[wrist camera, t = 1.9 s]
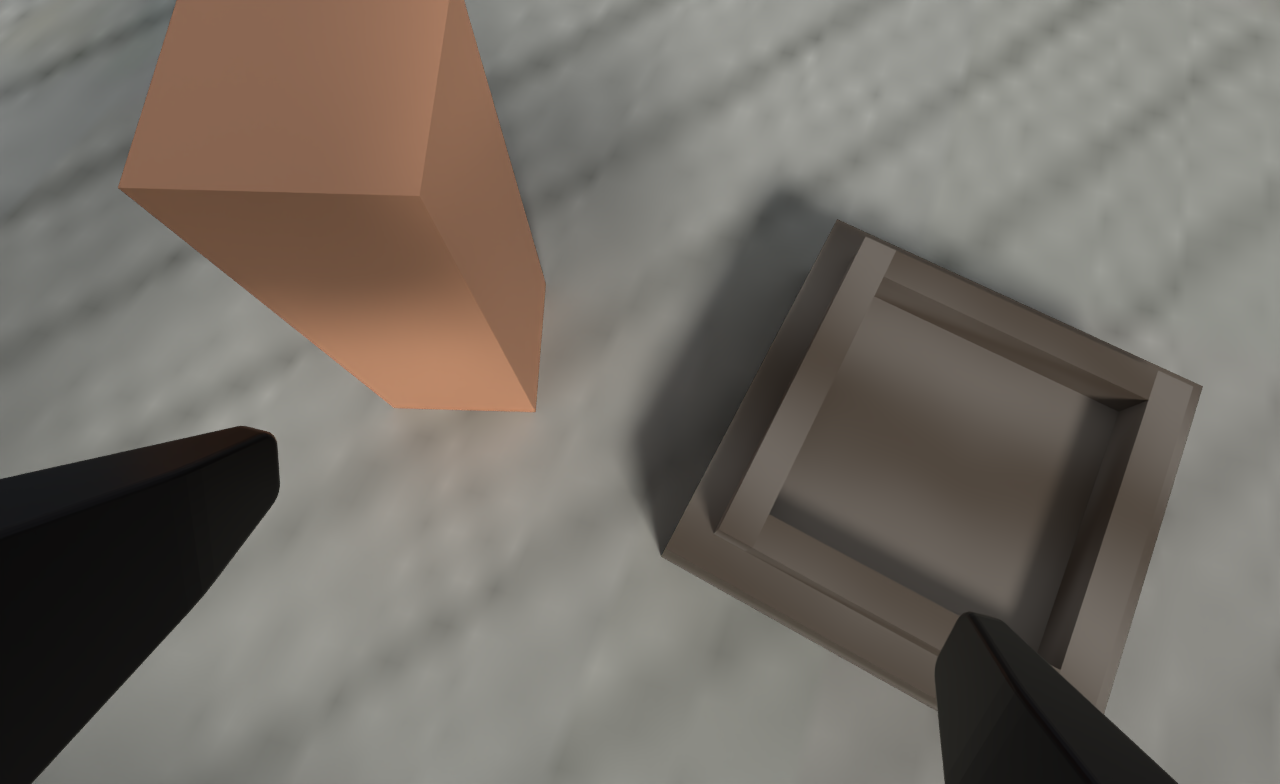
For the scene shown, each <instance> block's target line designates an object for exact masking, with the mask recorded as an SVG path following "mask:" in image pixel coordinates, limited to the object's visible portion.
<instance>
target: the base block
mask: <svg viewBox="0 0 1280 784" xmlns="http://www.w3.org/2000/svg"><path fill="white" fill-rule="evenodd" d="M1202 387H1203V386H1201V385H1198V384H1196V383H1194V382H1192V381H1190V380H1188V379H1185V378H1183V377H1181V376H1179V375H1177V374H1174V373H1172V372H1170V371H1168V370H1166V369H1163V368H1161V367H1159V366H1157V365H1155V364H1153V363H1150V362H1148V361H1146V360H1144V359H1142V358H1139V357H1137V356H1135V355H1133V354H1131V353H1129V352H1126V351H1124V350H1122V349H1120V348H1118V347H1115V346H1113V345H1111V344H1109V343H1107V342H1104V341H1102V340H1100V339H1098V338H1096V337H1094V336H1091V335H1089V334H1087V333H1085V332H1083V331H1080V330H1078V329H1076V328H1074V327H1072V326H1069V325H1067V324H1065V323H1063V322H1061V321H1059V320H1056V319H1054V318H1052V317H1050V316H1048V315H1045V314H1043V313H1041V312H1039V311H1037V310H1034V309H1032V308H1030V307H1028V306H1026V305H1024V304H1021V303H1019V302H1017V301H1015V300H1013V299H1010V298H1008V297H1006V296H1004V295H1002V294H1000V293H997V292H995V291H993V290H991V289H989V288H986V287H984V286H982V285H980V284H978V283H975V282H973V281H971V280H969V279H967V278H965V277H962V276H960V275H958V274H956V273H954V272H951V271H949V270H947V269H945V268H943V267H940V266H938V265H936V264H934V263H932V262H930V261H927V260H925V259H923V258H921V257H919V256H916V255H914V254H912V253H910V252H908V251H905V250H903V249H901V248H899V247H897V246H895V245H892V244H890V243H888V242H886V241H884V240H881V239H879V238H877V237H875V236H873V235H870V234H868V233H866V232H864V231H862V230H860V229H857V228H855V227H853V226H851V225H849V224H846V223H844V222H842V221H840V220H838V219H837V221H836V223H835V224H834V226H833V228H832V230H831V232H830V234H829V236H828V238H827V240H826V242H825V244H824V245H823V247H822V249H821V251H820V253H819V255H818V257H817V259H816V261H815V263H814V265H813V267H812V268H811V270H810V272H809V274H808V276H807V278H806V280H805V282H804V284H803V286H802V288H801V290H800V291H799V293H798V295H797V297H796V299H795V301H794V303H793V305H792V307H791V309H790V311H789V313H788V314H787V316H786V318H785V320H784V322H783V324H782V326H781V328H780V330H779V332H778V334H777V335H776V337H775V339H774V341H773V343H772V345H771V347H770V349H769V351H768V353H767V355H766V357H765V358H764V360H763V362H762V364H761V366H760V368H759V370H758V372H757V374H756V376H755V378H754V380H753V381H752V383H751V385H750V387H749V389H748V391H747V393H746V395H745V397H744V399H743V401H742V402H741V404H740V406H739V408H738V410H737V412H736V414H735V416H734V418H733V420H732V422H731V424H730V425H729V427H728V429H727V431H726V433H725V435H724V437H723V439H722V441H721V443H720V445H719V447H718V448H717V450H716V452H715V454H714V456H713V458H712V460H711V462H710V464H709V466H708V468H707V470H706V471H705V473H704V475H703V477H702V479H701V481H700V483H699V485H698V487H697V489H696V491H695V492H694V494H693V496H692V498H691V500H690V502H689V504H688V506H687V508H686V510H685V512H684V514H683V515H682V517H681V519H680V521H679V523H678V525H677V527H676V529H675V531H674V533H673V535H672V537H671V538H670V540H669V542H668V544H667V546H666V548H665V550H664V552H663V554H662V556H661V557H663V558H665V559H667V560H668V561H670V562H672V563H674V564H675V565H677V566H679V567H681V568H683V569H684V570H686V571H688V572H690V573H692V574H693V575H695V576H697V577H699V578H701V579H702V580H704V581H706V582H708V583H709V584H711V585H713V586H715V587H717V588H718V589H720V590H722V591H724V592H726V593H727V594H729V595H731V596H733V597H734V598H736V599H738V600H740V601H742V602H743V603H745V604H747V605H749V606H751V607H752V608H754V609H756V610H758V611H759V612H761V613H763V614H765V615H767V616H768V617H770V618H772V619H774V620H776V621H777V622H779V623H781V624H783V625H784V626H786V627H788V628H790V629H792V630H793V631H795V632H797V633H799V634H801V635H802V636H804V637H806V638H808V639H809V640H811V641H813V642H815V643H817V644H818V645H820V646H822V647H824V648H826V649H827V650H829V651H831V652H833V653H834V654H836V655H838V656H840V657H842V658H843V659H845V660H847V661H849V662H851V663H852V664H854V665H856V666H858V667H859V668H861V669H863V670H865V671H867V672H868V673H870V674H872V675H874V676H876V677H877V678H879V679H881V680H883V681H885V682H886V683H888V684H890V685H892V686H893V687H895V688H897V689H899V690H901V691H902V692H904V693H906V694H908V695H910V696H911V697H913V698H915V699H917V700H918V701H920V702H922V703H924V704H926V705H927V706H929V707H931V708H933V709H935V710H936V711H938V709H937V699H936V689H935V678H934V672H935V664H936V660H937V658H938V655H939V653H940V651H941V649H942V648H943V646H944V644H945V642H946V640H947V638H948V636H949V634H950V632H951V631H952V629H953V627H954V625H955V623H956V621H957V619H958V618H959V617H960V615H962V614H963V613H964V612H968V611H972V612H976V613H980V614H984V615H988V616H992V617H995V618H998V619H1000V620H1002V621H1003V622H1005V623H1006V624H1007V625H1008V626H1009V627H1010V628H1011V629H1012V630H1013V631H1014V632H1015V633H1017V634H1018V635H1019V636H1020V637H1021V638H1022V639H1023V640H1024V641H1025V642H1026V643H1027V644H1028V645H1029V646H1031V647H1032V648H1033V649H1034V650H1035V651H1036V652H1037V653H1038V654H1039V655H1040V656H1041V657H1042V658H1043V659H1045V660H1046V661H1047V662H1048V663H1049V664H1050V665H1051V666H1052V667H1053V668H1054V669H1055V670H1056V671H1057V672H1059V673H1060V674H1061V675H1062V676H1063V677H1064V678H1065V679H1066V680H1067V681H1068V682H1069V683H1070V684H1071V685H1073V686H1074V687H1075V688H1076V689H1077V690H1078V691H1079V692H1080V693H1081V694H1082V695H1083V696H1084V697H1086V698H1087V699H1088V700H1089V701H1090V702H1091V703H1092V704H1093V705H1094V706H1095V707H1096V708H1097V709H1098V710H1100V711H1101V712H1102V713H1103V714H1104V712H1105V709H1106V706H1107V702H1108V699H1109V696H1110V692H1111V689H1112V686H1113V682H1114V679H1115V676H1116V673H1117V669H1118V666H1119V663H1120V659H1121V656H1122V653H1123V649H1124V646H1125V643H1126V639H1127V636H1128V633H1129V629H1130V626H1131V623H1132V620H1133V616H1134V613H1135V610H1136V606H1137V603H1138V600H1139V596H1140V593H1141V590H1142V586H1143V583H1144V580H1145V576H1146V573H1147V570H1148V566H1149V563H1150V560H1151V557H1152V553H1153V550H1154V547H1155V543H1156V540H1157V537H1158V533H1159V530H1160V527H1161V523H1162V520H1163V517H1164V513H1165V510H1166V507H1167V503H1168V500H1169V497H1170V494H1171V490H1172V487H1173V484H1174V480H1175V477H1176V474H1177V470H1178V467H1179V464H1180V460H1181V457H1182V454H1183V450H1184V447H1185V444H1186V441H1187V437H1188V434H1189V431H1190V427H1191V424H1192V421H1193V417H1194V414H1195V411H1196V407H1197V404H1198V401H1199V397H1200V394H1201V391H1202Z"/></svg>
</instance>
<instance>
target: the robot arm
mask: <svg viewBox="0 0 1280 784" xmlns="http://www.w3.org/2000/svg"><path fill="white" fill-rule="evenodd" d="M279 488H280V477H279V462H278V447H277V441H276V439H275V437H274V435H272V434H271V433H270V432H267V431H263V430H259V429H255V428H251V427H247V426H237V427H233V428H228V429H224V430H219V431H215V432H210V433H206V434H201V435H197V436H192V437H188V438H183V439H179V440H174V441H170V442H165V443H161V444H156V445H152V446H147V447H143V448H138V449H133V450H129V451H124V452H120V453H115V454H111V455H106V456H102V457H97V458H93V459H88V460H84V461H79V462H75V463H70V464H66V465H61V466H57V467H52V468H48V469H43V470H39V471H34V472H30V473H25V474H21V475H16V476H12V477H7V478H3V479H0V784H32V783H33V781H34V780H35V779H36V778H37V777H38V776H39V775H40V774H41V773H42V772H43V771H44V769H45V768H46V767H47V766H48V765H49V764H50V763H51V762H52V761H53V760H54V759H55V757H56V756H57V755H58V754H59V753H60V752H61V751H62V750H63V749H64V748H65V747H66V746H67V744H68V743H69V742H70V741H71V740H72V739H73V738H74V737H75V736H76V735H77V734H78V732H79V731H80V730H81V729H82V728H83V727H84V726H85V725H86V724H87V723H88V722H89V720H90V719H91V718H92V717H93V716H94V715H95V714H96V713H97V712H98V711H99V710H100V709H101V707H102V706H103V705H104V704H105V703H106V702H107V701H108V700H109V699H110V698H111V697H112V695H113V694H114V693H115V692H116V691H117V690H118V689H119V688H120V687H121V686H122V685H123V683H124V682H125V681H126V680H127V679H128V678H129V677H130V676H131V675H132V674H133V673H134V672H135V670H136V669H137V668H138V667H139V666H140V665H141V664H142V663H143V662H144V661H145V660H146V658H147V657H148V656H149V655H150V654H151V653H152V652H153V651H154V650H155V649H156V648H157V646H158V645H159V644H160V643H161V642H162V641H163V640H164V639H165V638H166V637H167V636H168V635H169V633H170V632H171V631H172V630H173V629H174V628H175V627H176V626H177V625H178V624H179V623H180V621H181V620H182V619H183V618H184V617H185V616H186V615H187V614H188V613H189V612H190V610H191V609H192V608H193V607H194V606H195V605H196V604H197V603H198V601H199V600H200V599H201V598H202V597H203V596H204V594H205V593H206V592H207V591H208V589H209V588H210V587H211V586H212V584H213V583H214V582H215V581H216V579H217V578H218V577H219V575H220V574H221V573H222V571H223V570H224V569H225V567H226V566H227V565H228V563H229V562H230V561H231V559H232V558H233V557H234V555H235V554H236V553H237V551H238V550H239V549H240V547H241V546H242V545H243V543H244V542H245V541H246V540H247V538H248V537H249V536H250V534H251V533H252V532H253V530H254V529H255V528H256V526H257V525H258V524H259V522H260V521H261V520H262V518H263V517H264V516H265V514H266V513H267V512H268V510H269V509H270V508H271V506H272V505H273V503H274V502H275V500H276V498H277V496H278V493H279ZM934 678H935V689H936V699H937V709H938V719H939V730H940V740H941V750H942V760H943V770H944V780H945V784H1178V783H1177V782H1176V781H1175V780H1174V779H1173V778H1172V777H1171V776H1170V775H1168V774H1167V773H1166V772H1165V771H1164V770H1163V769H1162V768H1161V767H1160V766H1159V765H1158V764H1157V763H1156V762H1154V761H1153V760H1152V759H1151V758H1150V757H1149V756H1148V755H1147V754H1146V753H1145V752H1144V751H1143V750H1142V749H1140V748H1139V747H1138V746H1137V745H1136V744H1135V743H1134V742H1133V741H1132V740H1131V739H1130V738H1129V737H1128V736H1126V735H1125V734H1124V733H1123V732H1122V731H1121V730H1120V729H1119V728H1118V727H1117V726H1116V725H1115V724H1114V723H1112V722H1111V721H1110V720H1109V719H1108V718H1107V717H1106V716H1105V715H1104V714H1103V713H1102V712H1101V711H1100V710H1098V709H1097V708H1096V707H1095V706H1094V705H1093V704H1092V703H1091V702H1090V701H1089V700H1088V699H1087V698H1086V697H1084V696H1083V695H1082V694H1081V693H1080V692H1079V691H1078V690H1077V689H1076V688H1075V687H1074V686H1073V685H1071V684H1070V683H1069V682H1068V681H1067V680H1066V679H1065V678H1064V677H1063V676H1062V675H1061V674H1060V673H1059V672H1057V671H1056V670H1055V669H1054V668H1053V667H1052V666H1051V665H1050V664H1049V663H1048V662H1047V661H1046V660H1045V659H1043V658H1042V657H1041V656H1040V655H1039V654H1038V653H1037V652H1036V651H1035V650H1034V649H1033V648H1032V647H1031V646H1029V645H1028V644H1027V643H1026V642H1025V641H1024V640H1023V639H1022V638H1021V637H1020V636H1019V635H1018V634H1017V633H1015V632H1014V631H1013V630H1012V629H1011V628H1010V627H1009V626H1008V625H1007V624H1006V623H1005V622H1003V621H1002V620H1000V619H998V618H995V617H992V616H988V615H984V614H980V613H976V612H972V611H968V612H964V613H963V614H962V615H960V617H959V618H958V619H957V621H956V623H955V625H954V627H953V629H952V631H951V632H950V634H949V636H948V638H947V640H946V642H945V644H944V646H943V648H942V649H941V651H940V653H939V655H938V658H937V660H936V664H935V672H934Z"/></svg>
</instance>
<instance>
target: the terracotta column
mask: <svg viewBox="0 0 1280 784" xmlns="http://www.w3.org/2000/svg"><path fill="white" fill-rule="evenodd" d="M118 188H119V189H120V190H121V191H123V192H124V193H125V194H126V195H128V196H129V197H130V198H131V199H133V200H134V201H135V202H136V203H138V204H139V205H140V206H141V207H143V208H144V209H145V210H146V211H148V212H149V213H150V214H151V215H153V216H154V217H155V218H156V219H158V220H159V221H160V222H162V223H163V224H164V225H165V226H167V227H168V228H169V229H170V230H172V231H173V232H174V233H175V234H177V235H178V236H179V237H180V238H182V239H183V240H184V241H185V242H187V243H188V244H189V245H190V246H192V247H193V248H194V249H195V250H197V251H198V252H199V253H200V254H202V255H203V256H204V257H205V258H207V259H208V260H209V261H210V262H212V263H213V264H214V265H215V266H217V267H218V268H219V269H220V270H222V271H223V272H224V273H226V274H227V275H228V276H229V277H231V278H232V279H233V280H234V281H236V282H237V283H238V284H239V285H241V286H242V287H243V288H244V289H246V290H247V291H248V292H249V293H251V294H252V295H253V296H254V297H256V298H257V299H258V300H259V301H261V302H262V303H263V304H264V305H266V306H267V307H268V308H269V309H271V310H272V311H273V312H274V313H276V314H277V315H278V316H279V317H281V318H282V319H283V320H284V321H286V322H287V323H288V324H289V325H291V326H292V327H293V328H295V329H296V330H297V331H298V332H300V333H301V334H302V335H303V336H305V337H306V338H307V339H308V340H310V341H311V342H312V343H313V344H315V345H316V346H317V347H318V348H320V349H321V350H322V351H323V352H325V353H326V354H327V355H328V356H330V357H331V358H332V359H333V360H335V361H336V362H337V363H338V364H340V365H341V366H342V367H343V368H345V369H346V370H347V371H348V372H350V373H351V374H352V375H353V376H355V377H356V378H357V379H359V380H360V381H361V382H362V383H364V384H365V385H366V386H367V387H369V388H370V389H371V390H372V391H374V392H375V393H376V394H377V395H379V396H380V397H381V398H382V399H384V400H385V401H386V402H387V403H389V404H390V405H391V406H392V407H394V408H414V409H448V410H483V411H517V412H536V400H537V388H538V375H539V363H540V350H541V338H542V325H543V313H544V300H545V288H546V283H545V280H544V276H543V273H542V269H541V266H540V262H539V259H538V255H537V252H536V248H535V245H534V241H533V238H532V234H531V231H530V228H529V224H528V221H527V217H526V214H525V210H524V207H523V203H522V200H521V196H520V193H519V189H518V186H517V182H516V179H515V176H514V172H513V169H512V165H511V162H510V158H509V155H508V151H507V148H506V144H505V141H504V137H503V134H502V130H501V127H500V124H499V120H498V117H497V113H496V110H495V106H494V103H493V99H492V96H491V92H490V89H489V85H488V82H487V78H486V75H485V71H484V68H483V65H482V61H481V58H480V54H479V51H478V47H477V44H476V40H475V37H474V33H473V30H472V26H471V23H470V19H469V16H468V13H467V9H466V6H465V2H464V0H177V1H176V4H175V7H174V10H173V14H172V17H171V20H170V23H169V26H168V30H167V33H166V36H165V39H164V42H163V46H162V49H161V52H160V55H159V58H158V61H157V65H156V68H155V71H154V74H153V77H152V81H151V84H150V87H149V90H148V93H147V97H146V100H145V103H144V106H143V109H142V113H141V116H140V119H139V122H138V125H137V128H136V132H135V135H134V138H133V141H132V144H131V148H130V151H129V154H128V157H127V160H126V164H125V167H124V170H123V173H122V176H121V180H120V183H119V186H118Z"/></svg>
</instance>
